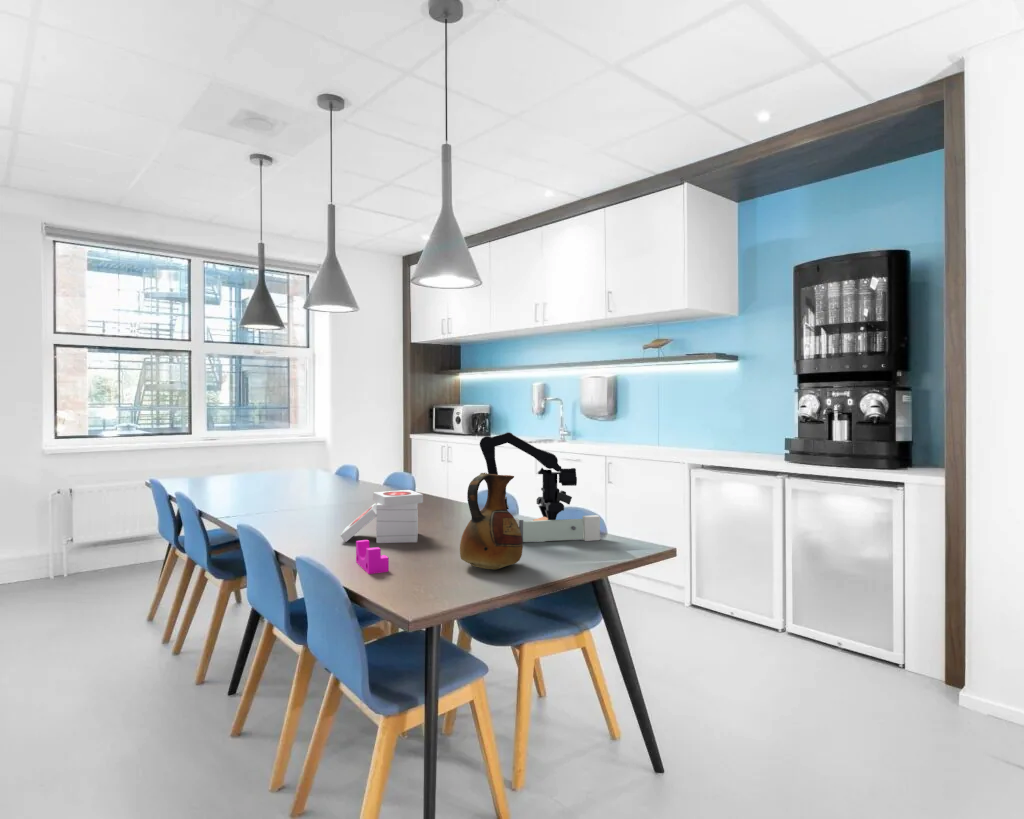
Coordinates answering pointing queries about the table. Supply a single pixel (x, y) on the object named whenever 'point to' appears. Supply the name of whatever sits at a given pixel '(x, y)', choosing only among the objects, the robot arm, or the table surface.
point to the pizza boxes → (390, 517)
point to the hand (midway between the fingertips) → (549, 525)
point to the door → (551, 530)
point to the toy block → (371, 558)
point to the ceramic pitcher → (491, 527)
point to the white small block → (588, 527)
